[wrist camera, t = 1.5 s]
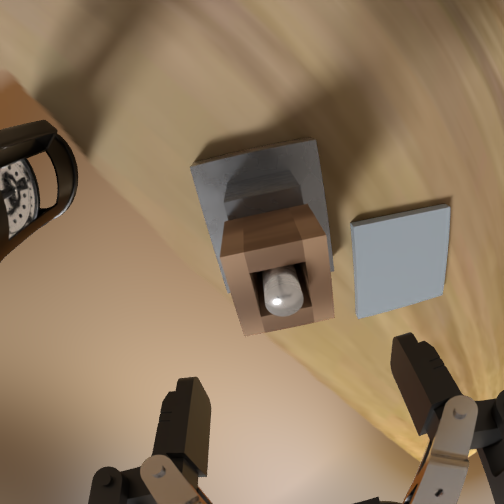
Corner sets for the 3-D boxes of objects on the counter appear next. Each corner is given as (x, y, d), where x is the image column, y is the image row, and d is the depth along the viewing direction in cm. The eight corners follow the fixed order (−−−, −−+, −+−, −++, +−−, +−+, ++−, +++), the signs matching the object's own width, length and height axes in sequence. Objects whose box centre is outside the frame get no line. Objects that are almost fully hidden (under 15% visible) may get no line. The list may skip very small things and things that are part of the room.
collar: (224, 221, 20) (219, 257, 16) (307, 203, 20) (326, 234, 16) (243, 290, 23) (244, 336, 18) (317, 274, 22) (334, 317, 18)
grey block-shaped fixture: (193, 162, 25) (152, 216, 14) (310, 136, 25) (369, 169, 13) (228, 281, 31) (222, 386, 19) (328, 260, 30) (373, 356, 18)
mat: (350, 222, 28) (353, 226, 27) (445, 203, 27) (450, 206, 27) (355, 313, 33) (358, 319, 32) (438, 290, 32) (442, 294, 31)
